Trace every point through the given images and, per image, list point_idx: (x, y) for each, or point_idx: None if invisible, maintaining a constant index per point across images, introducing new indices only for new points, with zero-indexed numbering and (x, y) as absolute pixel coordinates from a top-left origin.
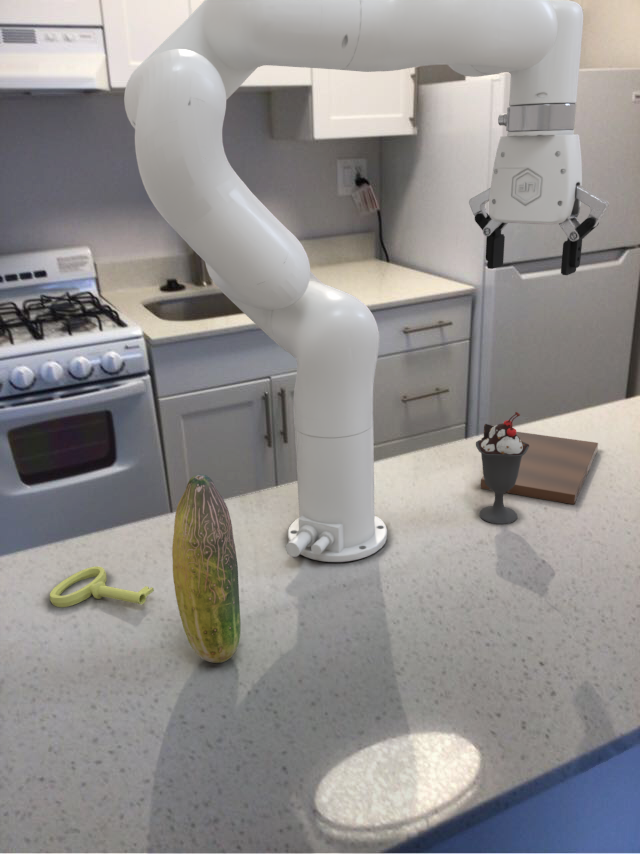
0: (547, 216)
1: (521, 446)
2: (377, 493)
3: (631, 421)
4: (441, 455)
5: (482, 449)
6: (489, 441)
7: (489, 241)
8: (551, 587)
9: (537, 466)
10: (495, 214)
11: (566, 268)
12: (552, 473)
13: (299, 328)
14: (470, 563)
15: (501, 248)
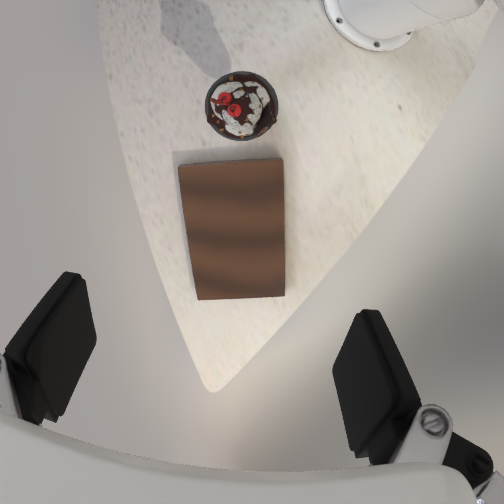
0: (5, 457)
1: (210, 100)
2: (378, 105)
3: (195, 363)
4: (346, 222)
5: (261, 83)
6: (254, 90)
7: (410, 383)
8: (158, 11)
9: (235, 218)
10: (441, 491)
11: (57, 282)
12: (214, 207)
13: None
14: (236, 9)
15: (350, 403)
